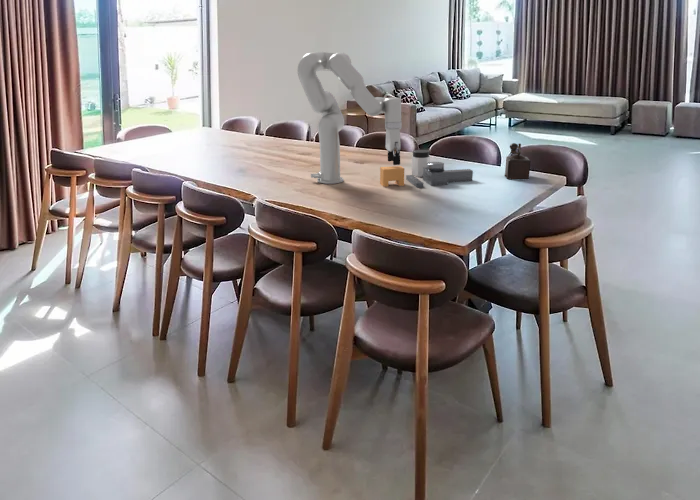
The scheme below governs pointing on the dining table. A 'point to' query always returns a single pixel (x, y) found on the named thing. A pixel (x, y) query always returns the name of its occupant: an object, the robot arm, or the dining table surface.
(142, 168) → the dining table surface
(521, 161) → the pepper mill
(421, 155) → the jar
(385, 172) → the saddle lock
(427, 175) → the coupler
